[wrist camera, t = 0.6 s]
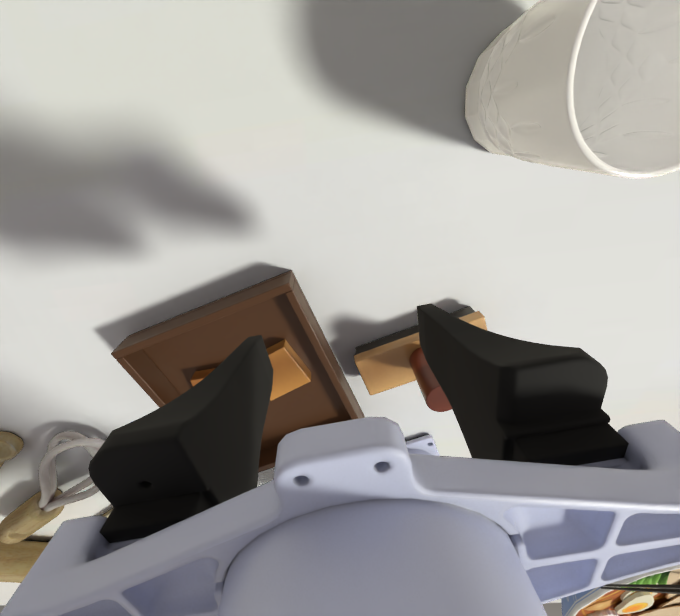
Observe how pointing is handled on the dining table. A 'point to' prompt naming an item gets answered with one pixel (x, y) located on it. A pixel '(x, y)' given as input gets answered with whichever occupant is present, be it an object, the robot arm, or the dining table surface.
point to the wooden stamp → (406, 362)
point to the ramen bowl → (630, 596)
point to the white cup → (583, 87)
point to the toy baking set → (38, 503)
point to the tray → (225, 336)
